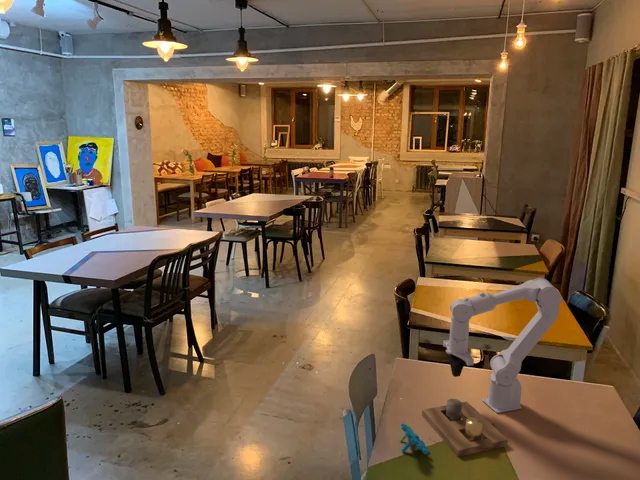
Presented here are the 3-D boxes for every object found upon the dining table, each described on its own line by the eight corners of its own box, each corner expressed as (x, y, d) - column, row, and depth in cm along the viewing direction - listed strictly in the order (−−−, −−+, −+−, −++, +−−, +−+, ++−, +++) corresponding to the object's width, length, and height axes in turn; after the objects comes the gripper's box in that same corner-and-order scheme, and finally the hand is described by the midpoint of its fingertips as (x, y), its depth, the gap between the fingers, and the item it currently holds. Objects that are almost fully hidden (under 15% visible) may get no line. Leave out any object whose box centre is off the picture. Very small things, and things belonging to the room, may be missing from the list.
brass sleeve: (473, 434, 138) (475, 415, 137) (484, 443, 134) (486, 424, 133) (461, 437, 136) (462, 419, 135) (471, 447, 132) (473, 428, 131)
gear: (435, 457, 126) (409, 433, 125) (419, 473, 126) (393, 448, 125) (423, 436, 137) (399, 414, 136) (409, 450, 137) (385, 428, 136)
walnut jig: (466, 407, 151) (467, 390, 150) (507, 445, 133) (509, 427, 131) (422, 415, 147) (423, 398, 146) (457, 456, 128) (459, 437, 127)
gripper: (436, 329, 155) (433, 366, 158) (460, 348, 142) (457, 388, 145) (454, 326, 157) (452, 363, 160) (480, 345, 143) (477, 385, 147)
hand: (456, 375), depth 152 cm, fingers closed
